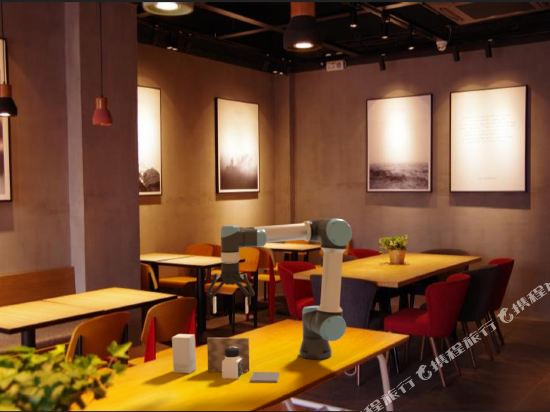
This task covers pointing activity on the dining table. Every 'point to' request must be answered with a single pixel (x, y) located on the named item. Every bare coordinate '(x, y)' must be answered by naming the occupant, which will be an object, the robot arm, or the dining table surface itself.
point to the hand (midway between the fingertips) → (230, 312)
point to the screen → (218, 352)
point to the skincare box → (184, 353)
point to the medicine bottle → (232, 364)
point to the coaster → (264, 377)
